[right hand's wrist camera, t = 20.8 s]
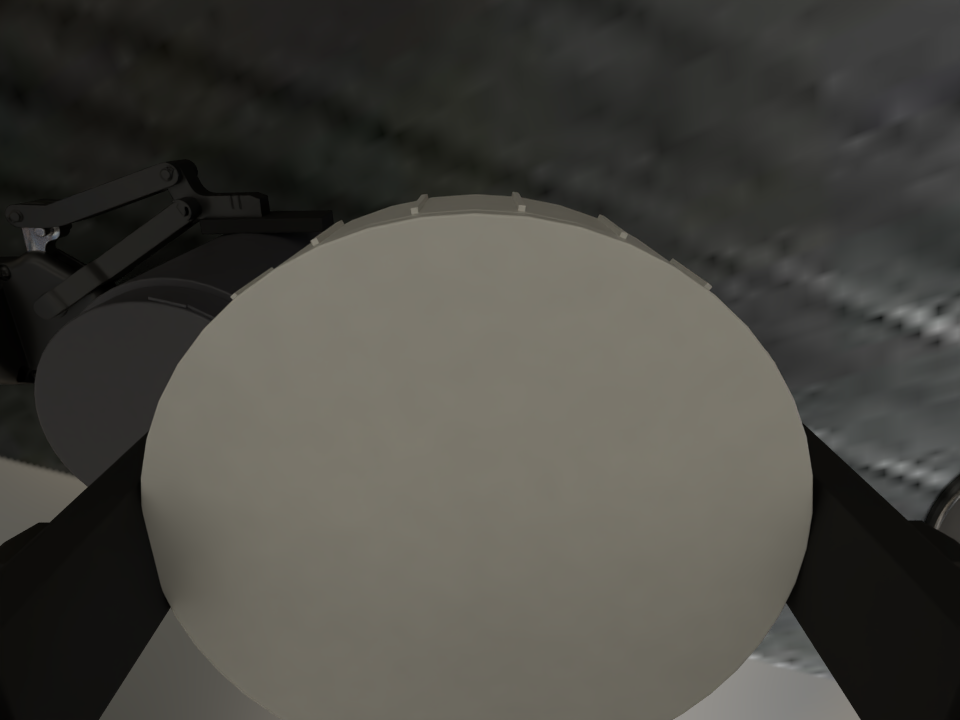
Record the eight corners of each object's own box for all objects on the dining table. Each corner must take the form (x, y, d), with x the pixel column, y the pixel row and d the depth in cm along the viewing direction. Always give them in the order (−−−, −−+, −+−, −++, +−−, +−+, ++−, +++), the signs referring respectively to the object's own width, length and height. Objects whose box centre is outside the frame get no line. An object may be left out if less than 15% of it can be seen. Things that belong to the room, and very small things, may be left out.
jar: (359, 368, 44) (281, 545, 26) (216, 340, 43) (31, 503, 25) (382, 230, 40) (309, 325, 22) (226, 196, 39) (15, 265, 21)
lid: (284, 78, 10) (224, 64, 7) (871, 330, 11) (969, 382, 9) (151, 589, 14) (85, 682, 11) (601, 723, 15) (622, 827, 13)
